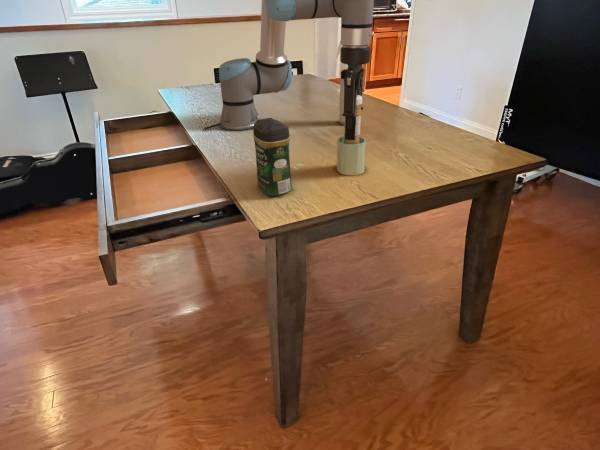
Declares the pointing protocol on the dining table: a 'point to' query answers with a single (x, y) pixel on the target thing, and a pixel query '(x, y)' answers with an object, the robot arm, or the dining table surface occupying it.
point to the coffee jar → (272, 156)
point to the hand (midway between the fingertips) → (351, 136)
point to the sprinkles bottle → (358, 121)
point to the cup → (351, 157)
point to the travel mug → (342, 97)
